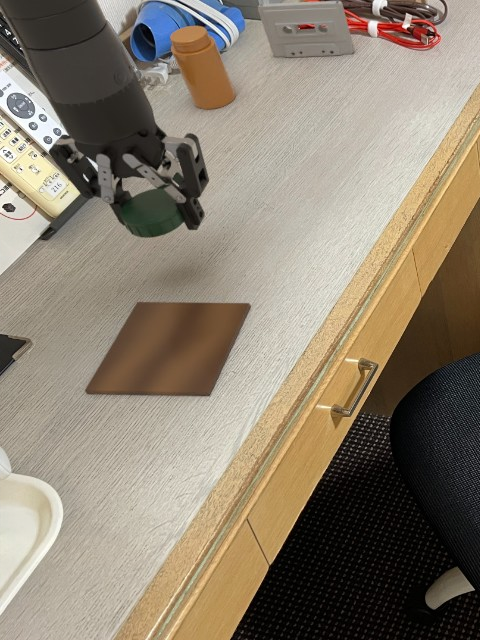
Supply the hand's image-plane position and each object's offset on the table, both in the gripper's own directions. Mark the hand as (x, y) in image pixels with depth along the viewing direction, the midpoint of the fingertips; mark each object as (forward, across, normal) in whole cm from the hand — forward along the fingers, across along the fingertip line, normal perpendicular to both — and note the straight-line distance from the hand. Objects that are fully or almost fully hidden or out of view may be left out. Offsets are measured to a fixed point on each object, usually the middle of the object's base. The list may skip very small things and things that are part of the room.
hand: (165, 225), depth 86 cm
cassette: (+6, -1, -47) cm, 48 cm away
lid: (-3, 0, +1) cm, 3 cm away
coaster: (+6, -3, +12) cm, 14 cm away
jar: (+6, +9, -35) cm, 37 cm away
